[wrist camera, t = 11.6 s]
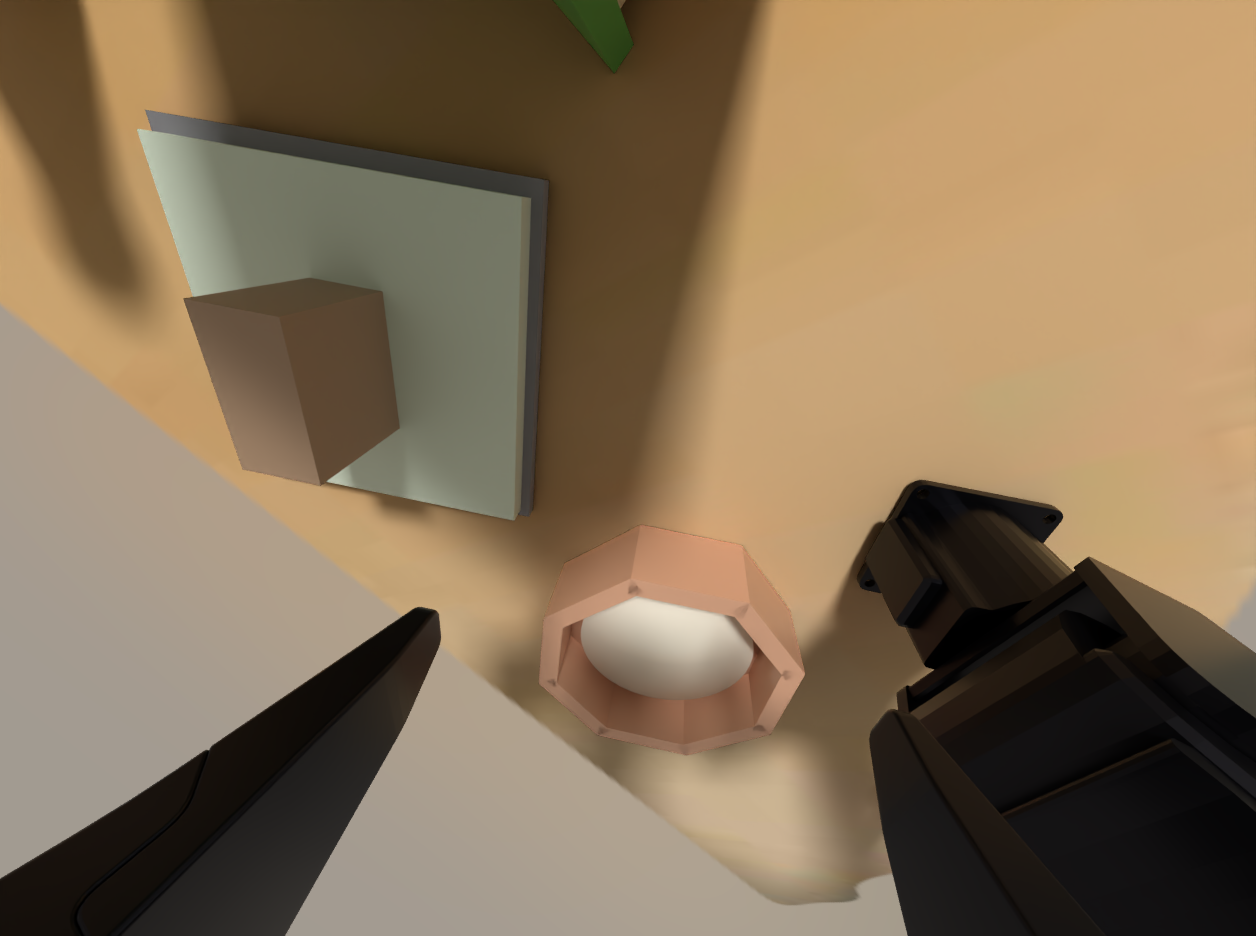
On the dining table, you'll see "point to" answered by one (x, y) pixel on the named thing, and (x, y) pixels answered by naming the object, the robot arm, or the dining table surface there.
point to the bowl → (670, 642)
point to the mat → (423, 170)
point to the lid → (356, 319)
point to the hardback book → (600, 27)
